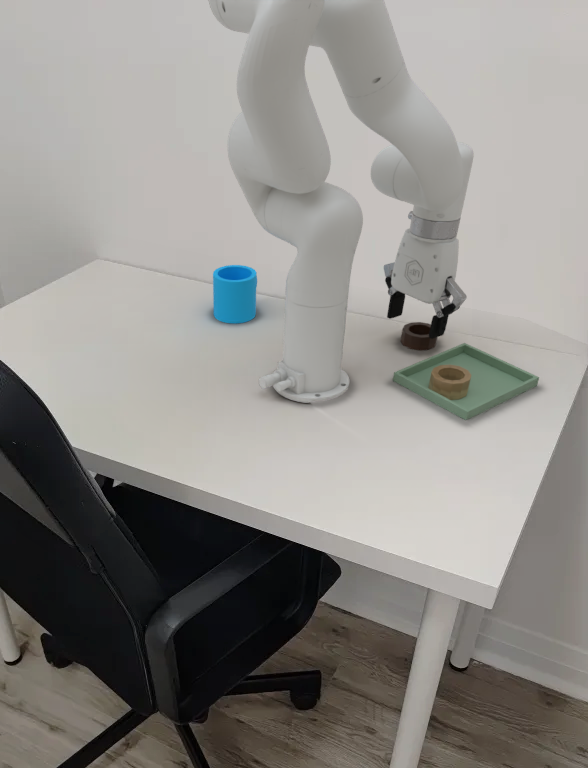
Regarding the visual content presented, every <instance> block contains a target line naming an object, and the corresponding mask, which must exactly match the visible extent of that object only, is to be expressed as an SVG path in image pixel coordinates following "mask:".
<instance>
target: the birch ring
mask: <svg viewBox="0 0 588 768" xmlns="http://www.w3.org/2000/svg"><path fill="white" fill-rule="evenodd" d="M470 380H471V374H470V372H469V371H468V370H466V369H464V368H462V367H460V366H455V365H440V366H437V367H435V368H433V370H432V372H431V377H430V382H429V389H431V390H432V391H434V392H436V393H438V394H440V395H442V396H444V397H446V398H448V399H449V400H458V399H461V398H463V397H465V396H466V395H467V393H468V389H469V385H470Z"/></svg>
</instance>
